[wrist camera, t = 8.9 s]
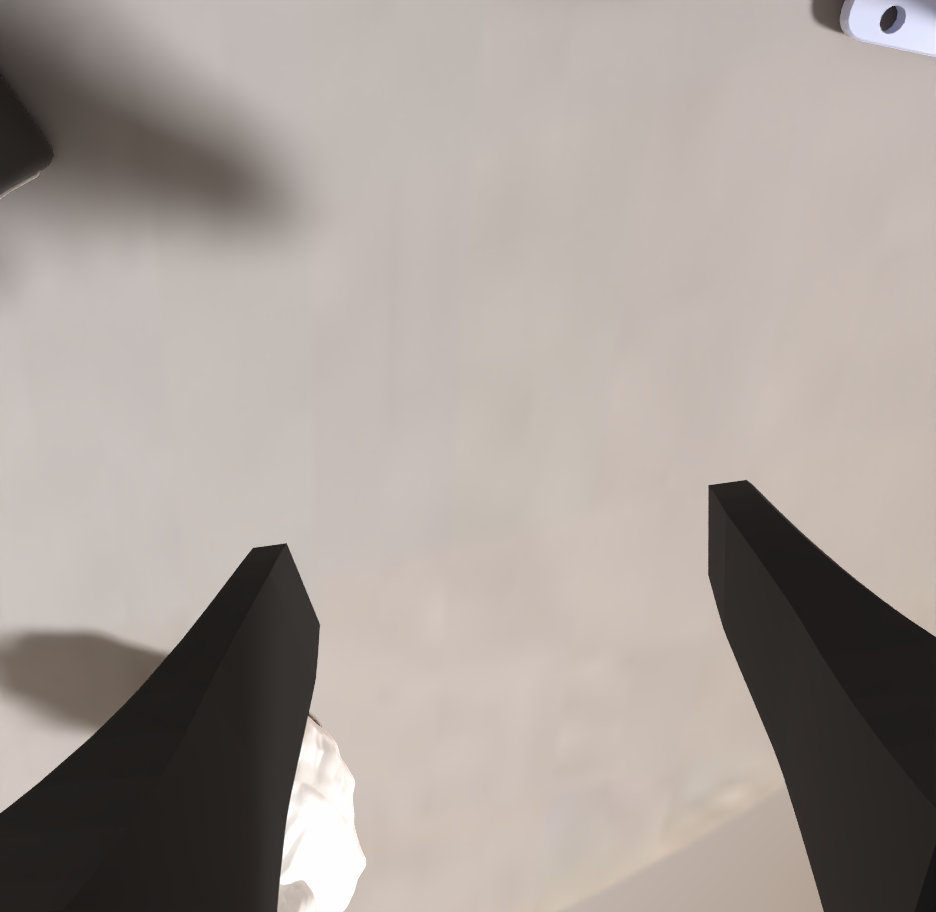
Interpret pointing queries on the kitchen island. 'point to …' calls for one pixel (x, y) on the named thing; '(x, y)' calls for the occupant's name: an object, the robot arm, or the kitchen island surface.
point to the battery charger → (19, 144)
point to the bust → (320, 831)
